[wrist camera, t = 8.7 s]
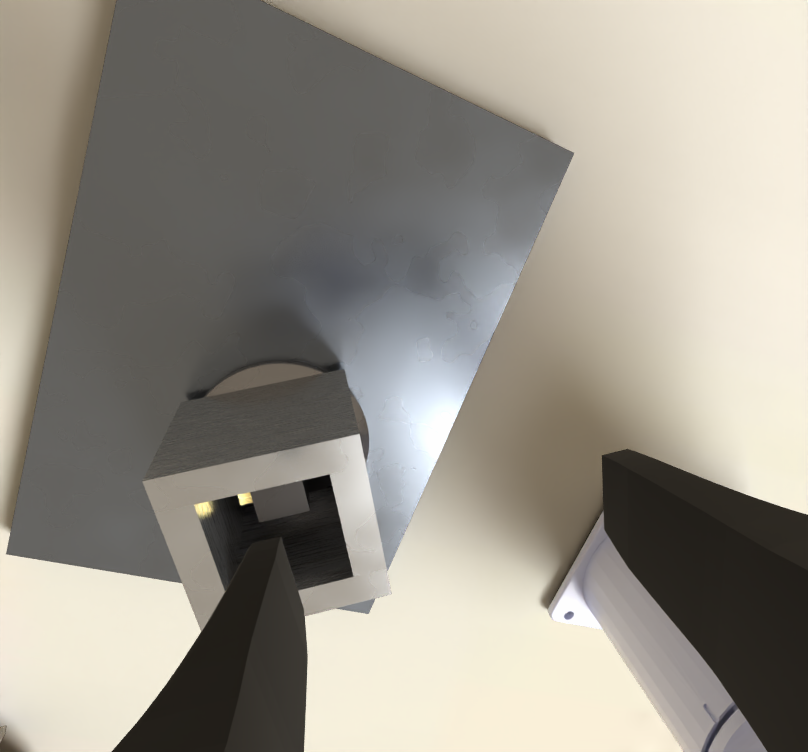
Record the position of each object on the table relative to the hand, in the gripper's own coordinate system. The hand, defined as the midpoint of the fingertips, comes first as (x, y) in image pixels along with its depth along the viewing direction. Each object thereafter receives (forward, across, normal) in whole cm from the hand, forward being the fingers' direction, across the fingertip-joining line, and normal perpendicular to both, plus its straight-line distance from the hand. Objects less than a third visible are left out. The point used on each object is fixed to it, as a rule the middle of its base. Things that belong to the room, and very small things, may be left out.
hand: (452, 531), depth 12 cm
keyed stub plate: (+10, +4, -2) cm, 11 cm away
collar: (+8, +4, +2) cm, 10 cm away
